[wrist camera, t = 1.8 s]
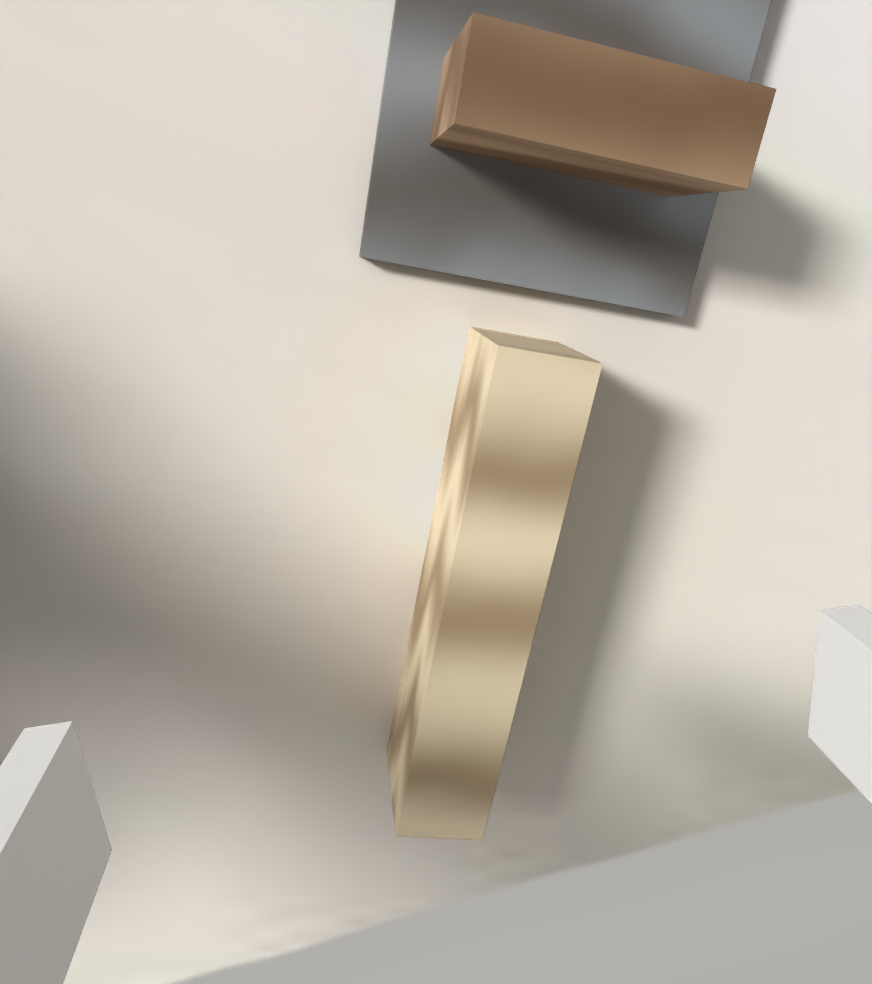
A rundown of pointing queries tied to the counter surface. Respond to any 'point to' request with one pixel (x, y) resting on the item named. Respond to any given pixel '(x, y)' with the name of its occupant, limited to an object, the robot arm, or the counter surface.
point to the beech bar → (484, 575)
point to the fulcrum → (564, 141)
